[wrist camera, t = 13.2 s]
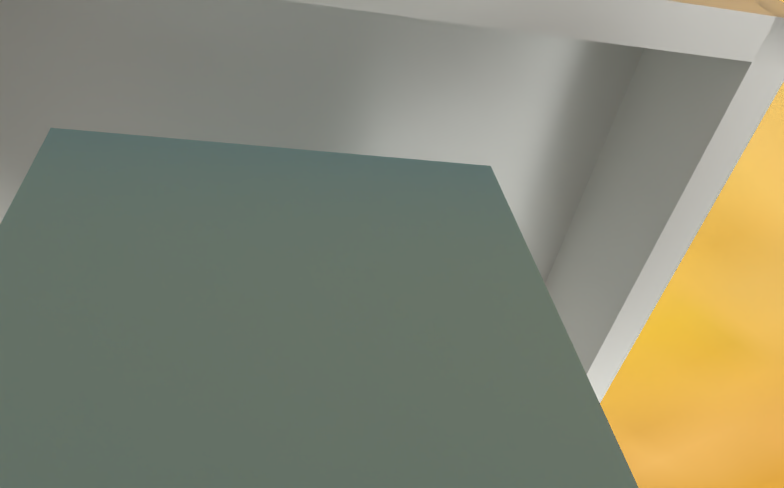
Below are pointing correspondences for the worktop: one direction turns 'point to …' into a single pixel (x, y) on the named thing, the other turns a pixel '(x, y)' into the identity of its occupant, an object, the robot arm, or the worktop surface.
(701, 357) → the worktop surface
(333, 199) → the teal block
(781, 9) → the tray
